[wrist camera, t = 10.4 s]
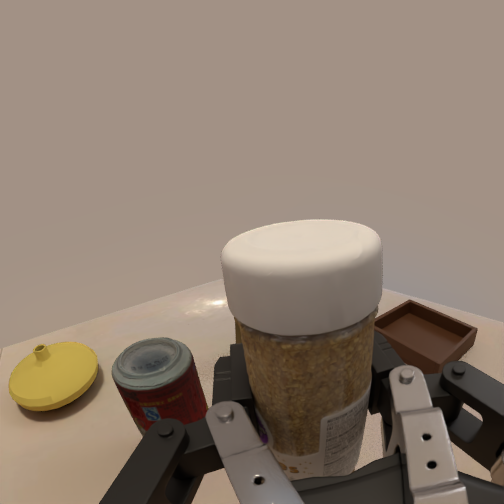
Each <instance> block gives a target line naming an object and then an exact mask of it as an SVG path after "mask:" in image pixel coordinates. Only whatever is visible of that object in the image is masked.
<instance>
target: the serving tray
mask: <svg viewBox="0 0 504 504" xmlns="http://www.w3.org/2000/svg"><path fill="white" fill-rule="evenodd" d="M374 330H375V331H376V332H378V333H380V334H382V335H383V336H384V337H385V339H386V340H387V341H388V343H389V344H390V345H391V346H392V348H393V349H394V350H395V351H396V353H397V354H398V355H399V357H400V358H401V359H402V360H403V362H404V363H406V364H407V365H411V366H414V367H417V368H418V369H420V370H421V371H422V372H423V374H434V373H442V370H443V367H444V365H445V364H447V363H448V362H451V361H458V360H459V359H460V358H461V357H462V356H463V355H464V354H465V353H466V352H467V351H468V350H469V349H470V348H471V346H472V345H473V344H474V341H475V337H476V333H477V328H475V327H473V326H471V325H468V324H466V323H464V322H461V321H459V320H457V319H454V318H452V317H450V316H447V315H445V314H443V313H440V312H438V311H436V310H433V309H431V308H429V307H426V306H424V305H422V304H419V303H417V302H415V301H412V300H410V299H409V300H408V301H406V302H404V303H402V304H401V305H399V306H397V307H395V308H393V309H392V310H390V311H388V312H386V313H384V314H383V315H381V316H379V317H377V318H375V320H374Z"/></svg>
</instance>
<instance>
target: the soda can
mask: <svg viewBox="0 0 504 504" xmlns="http://www.w3.org/2000/svg"><path fill="white" fill-rule="evenodd" d="M112 377H113V380H114V382H115V384H116V386H117V388H118V391H119V393H120V395H121V397H122V399H123V401H124V403H125V405H126V407H127V408H128V410H129V412H130V414H131V416H132V418H133V420H134V422H135V424H136V425H137V427H138V429H139V431H140V433H141V434H142V436H143V437H144V435H145V434H146V432H147V431H148V429H149V428H150V426H151V425H152V424H154V423H155V422H157V421H159V420H162V419H167V418H172V419H177V420H179V421H181V422H182V423H183V424H184V425H186V424H189V423H193V422H196V421H199V420H201V419H202V418H204V417H205V416H206V413H207V411H208V406H207V403H206V399H205V396H204V393H203V390H202V387H201V383H200V380H199V377H198V373H197V369H196V366H195V363H194V359H193V356H192V353H191V351H190V350H189V349H188V347H187V346H186V345H185V344H183V343H181V342H179V341H177V340H173V339H170V338H152V339H146V340H142V341H139V342H136V343H134V344H132V345H131V346H129V347H128V348H126V349H125V350H124V351H123V352H122V353H121V354H120V355H119V356H118V358H117V359H116V360H115V362H114V364H113V366H112Z"/></svg>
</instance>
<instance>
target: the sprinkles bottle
mask: <svg viewBox="0 0 504 504" xmlns="http://www.w3.org/2000/svg"><path fill="white" fill-rule="evenodd" d="M221 264H222V271H223V277H224V285H225V291H226V296H227V301H228V306H229V309H230V311H231V313H232V314H233V316H234V319H235V322H236V323H237V324H238V326H239V327H240V332H241V340H242V344H243V349H244V356H245V362H246V367H247V373H248V376H249V383H250V386H251V391H252V395H253V402H254V408H255V413H256V418H257V423H258V428H259V433H260V438H261V440H262V442H263V443H264V444H267V445H268V446H269V447H270V449H271V450H272V452H273V454H274V456H275V457H276V459H277V461H278V462H279V464H280V465H281V467H282V469H283V470H284V472H285V474H286V475H287V477H288V478H289V480H290V481H293V480H299V479H304V478H309V477H325V476H345V475H348V474H350V473H352V472H354V470H355V466H356V464H357V462H358V458H359V454H360V449H361V444H362V439H363V434H364V428H365V422H366V416H367V410H368V403H369V396H370V389H371V380H372V372H371V364H372V354H373V339H374V320H375V316H376V315H377V313H378V304H379V302H380V299H381V296H382V276H383V275H382V274H383V271H382V270H383V268H382V267H383V266H382V243H381V240H380V237H379V236H378V234H377V233H376V232H375V231H374V230H372V229H371V228H369V227H367V226H364V225H362V224H358V223H354V222H350V221H342V220H329V219H328V220H325V219H316V220H299V221H290V222H282V223H277V224H272V225H267V226H263V227H259V228H256V229H252V230H249V231H247V232H244V233H242V234H240V235H238V236H236V237H235V238H233V239H231V240H230V241H229V242H228V243H227V244H226V245H225V247H224V248H223V250H222V253H221Z"/></svg>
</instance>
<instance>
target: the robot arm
mask: <svg viewBox="0 0 504 504" xmlns="http://www.w3.org/2000/svg"><path fill="white" fill-rule="evenodd" d="M371 372H372V380H371V389H370V396H369V403H368V410H369V412H370V414H371V415H373V414H376V413H379V412H380V414H381V416H382V418H381V435H382V448H383V458H381V459H378V460H375V461H373V462H371V463H369V464H367V465H366V466H364V467H362V468H360V469H358V470H356V471H354V472H352V473H350V474H348V475H345V476H325V477H309V478H304V479H299V480H293V481H290V480H289V478H288V477H287V475H286V474H285V472H284V470H283V469H282V467H281V465H280V464H279V462H278V461H277V459H276V457H275V456H274V454H273V452H272V450H271V449H270V447H269V446H268V445H267V444H264V443H263V442H262V440H261V438H260V433H259V428H258V423H257V418H256V413H255V408H254V402H253V395H252V391H251V386H250V383H249V376H248V373H247V367H246V362H245V356H244V349H243V344H242V343H238V344H231V345H230V356H226V357H220V358H219V359H218V361H217V362H216V364H215V366H214V382H213V399H212V406H211V407H210V408H209V409H208V411H207V413H206V416H205V417H204V418H202V419H201V420H199V421H196V422H193V423H189V424H186V425H184V424H183V423H182V422H181V421H179V420H177V419H172V418H167V419H162V420H159V421H157V422H155V423H154V424H152V425H151V426H150V428H149V429H148V431H147V432H146V434H145V435H144V437H143V438H142V440H141V441H140V443H139V444H138V446H137V447H136V449H135V450H134V452H133V453H132V455H131V456H130V458H129V459H128V461H127V462H126V464H125V465H124V467H123V468H122V470H121V471H120V473H119V474H118V476H117V477H116V479H115V480H114V482H113V483H112V485H111V486H110V488H109V489H108V491H107V492H106V494H105V495H104V497H103V498H102V500H101V501H100V503H99V504H191V503H192V501H193V499H194V497H195V494H196V492H197V490H198V488H199V486H200V483H201V481H202V479H203V477H204V474H207V473H210V472H213V471H216V470H219V469H222V468H225V470H226V473H227V475H228V477H229V480H230V482H231V484H232V487H233V489H234V491H235V493H236V496H237V498H238V500H239V502H240V504H504V384H502V383H500V382H499V381H497V380H495V379H493V378H492V377H490V376H488V375H487V374H485V373H483V372H482V371H480V370H478V369H476V368H475V367H473V366H471V365H470V364H468V363H466V362H463V361H451V362H448V363H447V364H445V365H444V367H443V370H442V373H434V374H423V372H422V371H421V370H420V369H418V368H417V367H414V366H411V365H406V364H405V363H404V362H403V360H402V359H401V358H400V357H399V355H398V354H397V353H396V351H395V350H394V349H393V348H392V346H391V345H390V344H389V343H388V341H387V340H386V339H385V337H384V336H383V335H382V334H380V333H378V332H376V331H375V330H374V339H373V354H372V364H371ZM464 403H465V404H467V405H468V406H470V407H471V408H473V409H474V410H476V411H477V412H478V413H480V414H481V416H482V418H483V422H482V421H481V420H479V419H478V418H476V417H475V416H473V415H472V414H471V413H469V412H468V411H466V410H465V409H463V408H462V406H463V404H464ZM450 441H451V442H453V443H454V444H455V445H456V446H458V447H459V448H460V449H462V450H463V451H464V452H465V453H467V454H468V455H469V456H471V457H472V458H473V459H474V460H476V461H477V462H478V463H480V464H481V465H482V466H484V467H485V468H486V469H488V470H489V471H490V474H491V478H492V480H491V482H489V481H486V480H482V479H479V478H476V477H474V476H471V475H468V474H465V473H462V472H459V471H457V467H456V463H455V458H454V454H453V450H452V446H451V442H450Z"/></svg>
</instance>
